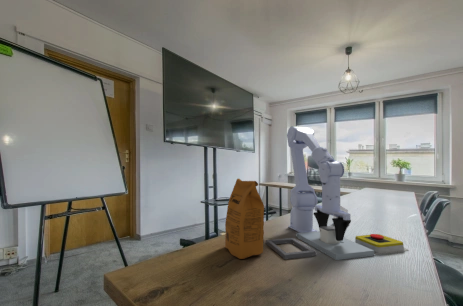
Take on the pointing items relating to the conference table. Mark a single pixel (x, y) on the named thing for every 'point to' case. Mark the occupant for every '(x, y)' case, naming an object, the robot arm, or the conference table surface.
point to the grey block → (328, 235)
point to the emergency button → (380, 243)
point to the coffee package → (244, 220)
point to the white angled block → (342, 210)
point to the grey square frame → (305, 253)
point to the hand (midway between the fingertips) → (331, 236)
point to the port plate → (335, 246)
